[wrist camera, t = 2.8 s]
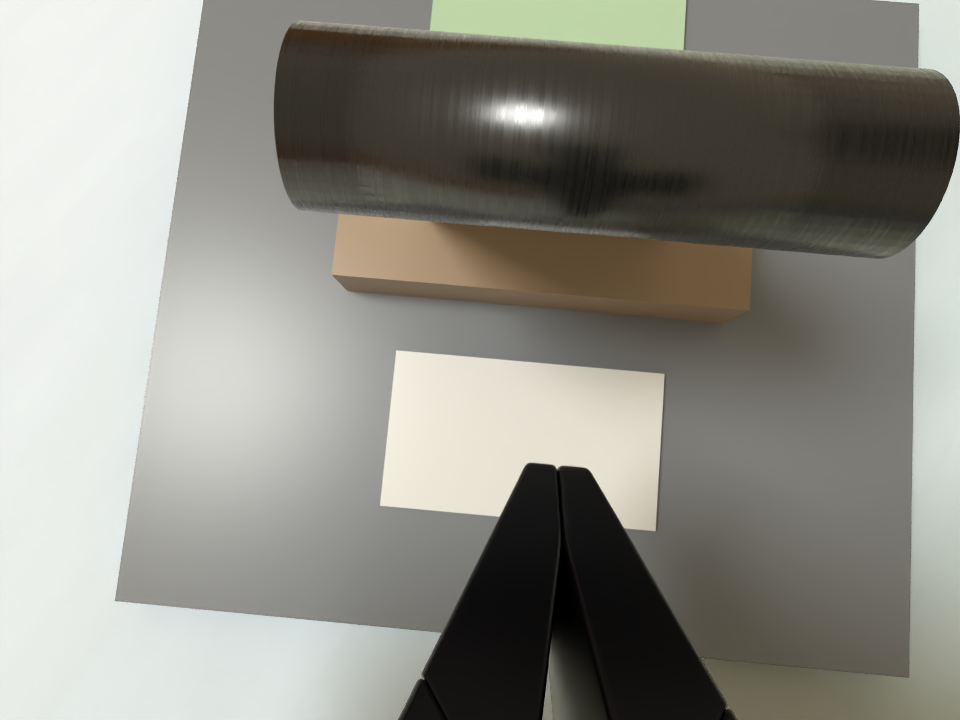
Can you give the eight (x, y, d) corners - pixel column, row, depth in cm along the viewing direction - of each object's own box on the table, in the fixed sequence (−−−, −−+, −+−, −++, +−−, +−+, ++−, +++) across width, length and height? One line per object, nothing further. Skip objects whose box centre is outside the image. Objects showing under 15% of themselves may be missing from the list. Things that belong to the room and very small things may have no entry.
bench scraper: (685, 243, 15) (932, 263, 6) (405, 219, 16) (271, 208, 7) (698, 154, 15) (979, 45, 6) (410, 130, 15) (276, -8, 6)
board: (884, 664, 17) (960, 707, 14) (135, 591, 18) (70, 620, 15) (896, 25, 19) (965, -43, 17) (224, -26, 20) (181, -101, 17)
